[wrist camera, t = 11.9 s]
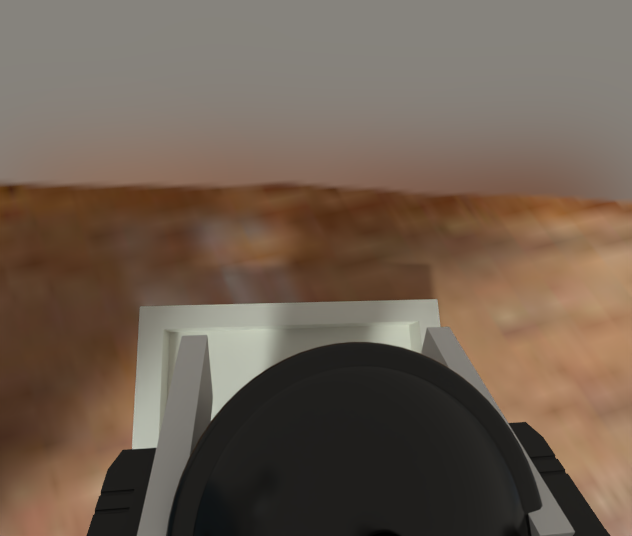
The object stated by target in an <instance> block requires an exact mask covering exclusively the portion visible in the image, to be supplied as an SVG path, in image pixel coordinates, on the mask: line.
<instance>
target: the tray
mask: <svg viewBox="0 0 632 536" xmlns="http://www.w3.org/2000/svg"><path fill="white" fill-rule="evenodd" d="M427 327H440V318H439V310H438V301H437V299H424V300H382V301H341V302H299V303H257V304H216V305H174V306H140V313H139V331H138V349H137V368H136V386H135V404H134V422H133V441H132V449H144V448H157V444H158V439H159V435H160V430H161V426H162V421H163V417H164V413H165V408H166V404H167V399H168V395H169V390H170V386H171V381H172V377H173V372H174V368H175V363H176V359H177V355H178V350H179V346H180V341H181V337H182V336H187V335H207V337H208V348H209V359H210V370H211V381H212V392H213V403H212V413H211V421H212V419H213V418H214V417H215V415H216V414H217V413H218V412H219V411H220V409H221V408H222V407H223V406H224V405H225V404H226V402H227V401H228V400H229V399H231V398H232V396H233V395H234V394H235V393H236V392H237V391H239V390H240V389H241V388H242V387H243V386H244V385H246V384H247V383H248V382H249V381H250V380H252V379H253V378H254V377H256V376H257V375H259V374H260V373H262V372H263V371H264V370H266V369H268V368H269V367H271V366H273V365H275V364H276V363H278V362H280V361H282V360H284V359H286V358H288V357H291V356H293V355H295V354H298V353H300V352H303V351H306V350H310V349H313V348H316V347H320V346H325V345H330V344H336V343H346V342H373V343H383V344H389V345H393V346H398V347H402V348H406V349H409V350H412V351H415V352H418V353H420V354H421V351H422V347H423V342H424V338H425V334H426V330H427Z"/></svg>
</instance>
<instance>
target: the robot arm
mask: <svg viewBox="0 0 632 536" xmlns="http://www.w3.org/2000/svg"><path fill="white" fill-rule="evenodd" d="M421 354H423V355H425V356H427V357H430V358H432V359H434V360H436V361H438V362H439V363H441V364H443V365H445V366H447V367H448V368H450V369H451V370H453V371H454V372H456V373H457V374H459V375H460V376H462V377H463V378H464V379H465V380H467V381H468V382H469V383H470V384H472V385H473V386H474V387H475V388H476V389H477V390H478V391H479V392H480V393H481V394H482V395H483V396H484V397H485V398H486V399H487V400H488V401H489V402H490V403H491V404H492V406H493V407H494V408H495V409H496V410H497V411H498V413H499V414H500V415H501V417H502V418H503V419H504V421H505V422H506V424H507V425H508V426H509V428H510V429H511V431H512V432H513V434H514V436H515V438H516V439H517V441H518V443H519V444H520V446H521V448H522V450H523V452H524V454H525V456H526V458H527V460H528V463H529V465H530V468H531V470H532V473H533V475H534V478H535V481H536V484H537V487H538V490H539V494H540V497H541V501H542V505H543V506H542V507H541V509H540V510H537V511H534V512H531V513H528V516H529V522H530V529H531V536H610V534H609V533H608V532H607V531H606V529H605V528H604V527H603V525H602V524H601V522H600V521H599V519H598V518H597V516H596V515H595V513H594V512H593V510H592V509H591V507H590V506H589V504H588V503H587V502H586V500H585V499H584V497H583V496H582V494H581V493H580V491H579V490H578V488H577V487H576V485H575V484H574V482H573V481H572V479H571V478H570V476H569V475H568V474H566V473H565V469H564V467H563V466H562V465H561V463H560V462H559V460H558V459H556V458H555V454H554V453H553V451H552V450H551V448H550V447H549V445H548V444H547V442H546V441H545V439H544V438H543V437H542V436H541V435H540V434H539V433H538V432H536V431H535V430H534V429H533V428H532V427H531V426H530V425H528V424H527V423H526V422H520V423H508V422H507V420H506V419H505V417H504V415H503V414H502V412H501V410H500V409H499V407H498V406H497V404H496V402H495V401H494V399H493V397H492V396H491V394H490V393H489V391H488V389H487V388H486V386H485V384H484V383H483V381H482V380H481V378H480V376H479V375H478V373H477V371H476V370H475V368H474V367H473V365H472V363H471V362H470V360H469V358H468V357H467V355H466V354H465V352H464V350H463V349H462V347H461V345H460V344H459V342H458V341H457V339H456V337H455V336H454V334H453V332H452V331H451V329H450V328H449V327H427V330H426V334H425V338H424V342H423V347H422V351H421ZM212 403H213V392H212V381H211V370H210V359H209V348H208V337H207V335H187V336H182V337H181V341H180V346H179V350H178V355H177V359H176V363H175V368H174V372H173V377H172V381H171V386H170V390H169V395H168V399H167V404H166V408H165V413H164V417H163V421H162V426H161V430H160V435H159V439H158V444H157V448H144V449H129V450H122V452H121V453H120V454H119V456H118V457H117V458H116V460H115V461H114V462H113V463H112V465H111V466H110V467H109V469H108V471H107V474H106V477H105V480H104V483H103V486H102V489H101V495H100V496H99V499H98V502H97V505H96V508H95V514H94V515H93V518H92V521H91V524H90V527H89V530H88V533H87V536H166V531H167V525H168V519H169V514H170V510H171V506H172V502H173V498H174V495H175V492H176V489H177V486H178V483H179V480H180V477H181V475H182V472H183V470H184V468H185V466H186V463H187V461H188V459H189V457H190V455H191V453H192V451H193V449H194V447H195V446H196V444H197V442H198V440H199V438H200V437H201V435H202V434H203V432H204V431H205V429H206V428H207V426H208V425H209V423H210V422H211V413H212Z"/></svg>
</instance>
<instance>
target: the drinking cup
mask: <svg viewBox="0 0 632 536" xmlns="http://www.w3.org/2000/svg"><path fill="white" fill-rule="evenodd" d="M542 506H543V505H542V501H541V497H540V494H539V490H538V487H537V484H536V481H535V478H534V475H533V473H532V470H531V468H530V465H529V463H528V460H527V458H526V456H525V454H524V452H523V450H522V448H521V446H520V444H519V443H518V441H517V439H516V438H515V436H514V434H513V432H512V431H511V429H510V428H509V426H508V425H507V424H506V422H505V421H504V419H503V418H502V417H501V415H500V414H499V413H498V411H497V410H496V409H495V408H494V407H493V406H492V404H491V403H490V402H489V401H488V400H487V399H486V398H485V397H484V396H483V395H482V394H481V393H480V392H479V391H478V390H477V389H476V388H475V387H474V386H473V385H472V384H470V383H469V382H468V381H467V380H465V379H464V378H463V377H462V376H460V375H459V374H457V373H456V372H454V371H453V370H451V369H450V368H448V367H447V366H445V365H443V364H441V363H439V362H438V361H436V360H434V359H432V358H430V357H427V356H425V355H423V354H420V353H418V352H415V351H412V350H409V349H406V348H402V347H398V346H393V345H389V344H383V343H373V342H346V343H336V344H330V345H325V346H320V347H316V348H313V349H310V350H306V351H303V352H300V353H298V354H295V355H293V356H291V357H288V358H286V359H284V360H282V361H280V362H278V363H276V364H275V365H273V366H271V367H269V368H268V369H266V370H264V371H263V372H262V373H260V374H259V375H257V376H256V377H254V378H253V379H252V380H250V381H249V382H248V383H247V384H246V385H244V386H243V387H242V388H241V389H240V390H239V391H237V392H236V393H235V394H234V395H233V396H232V398H231V399H229V400H228V401H227V402H226V404H225V405H224V406H223V407H222V408H221V409H220V411H219V412H218V413H217V414H216V415H215V417H214V418H213V419H212V421H211V422H210V423H209V425H208V426H207V428H206V429H205V431H204V432H203V434H202V435H201V437H200V438H199V440H198V442H197V444H196V446H195V447H194V449H193V451H192V453H191V455H190V457H189V459H188V461H187V463H186V466H185V468H184V470H183V472H182V475H181V477H180V480H179V483H178V486H177V489H176V492H175V495H174V498H173V502H172V506H171V510H170V514H169V519H168V525H167V531H166V536H531V529H530V522H529V516H528V513H531V512H534V511H537V510H540V509H541V507H542Z"/></svg>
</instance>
